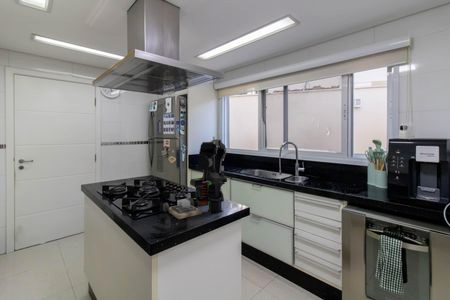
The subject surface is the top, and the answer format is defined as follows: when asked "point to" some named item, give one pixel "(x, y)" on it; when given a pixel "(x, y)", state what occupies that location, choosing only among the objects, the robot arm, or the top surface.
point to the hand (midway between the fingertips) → (209, 197)
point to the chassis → (183, 213)
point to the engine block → (183, 204)
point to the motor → (203, 194)
